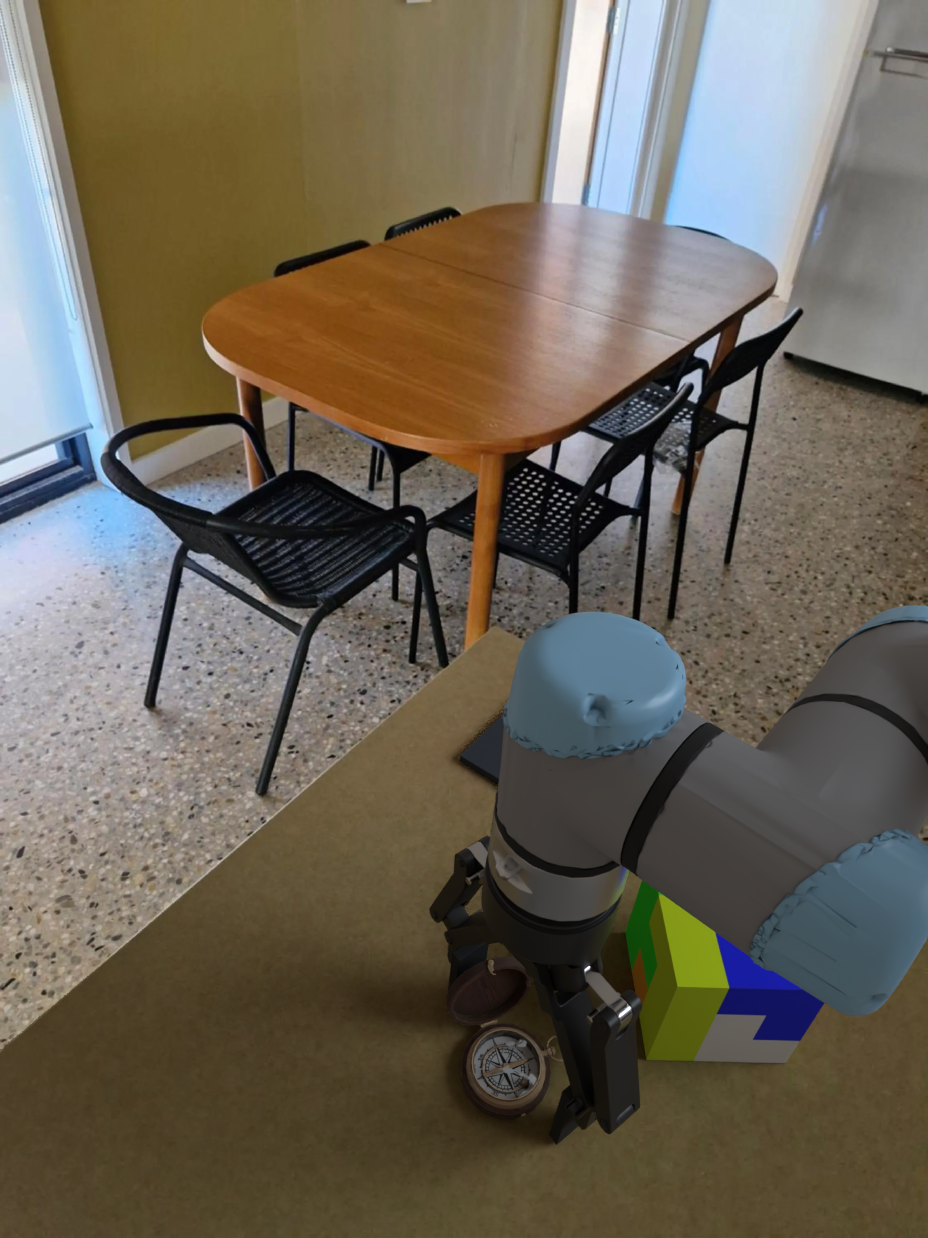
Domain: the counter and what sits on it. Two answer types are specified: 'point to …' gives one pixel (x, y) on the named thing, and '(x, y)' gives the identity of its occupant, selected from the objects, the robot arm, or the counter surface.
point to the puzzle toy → (708, 991)
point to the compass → (499, 1040)
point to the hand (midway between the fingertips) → (513, 1057)
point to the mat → (486, 752)
